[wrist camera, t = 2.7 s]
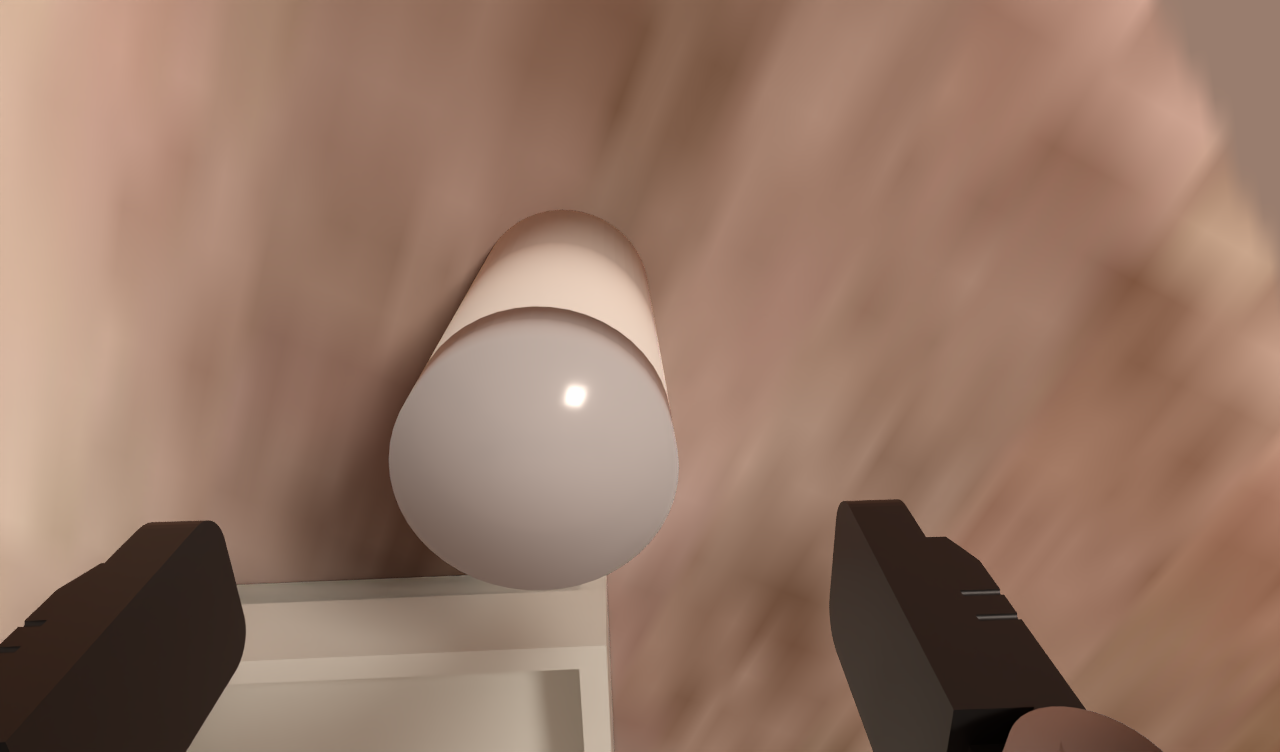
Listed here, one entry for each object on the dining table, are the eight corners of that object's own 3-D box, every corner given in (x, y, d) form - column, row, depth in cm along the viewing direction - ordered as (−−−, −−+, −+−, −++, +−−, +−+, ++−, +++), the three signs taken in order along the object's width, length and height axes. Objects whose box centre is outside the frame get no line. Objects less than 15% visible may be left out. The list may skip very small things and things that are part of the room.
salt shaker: (489, 373, 23) (409, 596, 13) (473, 212, 21) (368, 341, 12) (649, 368, 23) (679, 585, 14) (646, 207, 21) (678, 331, 12)
